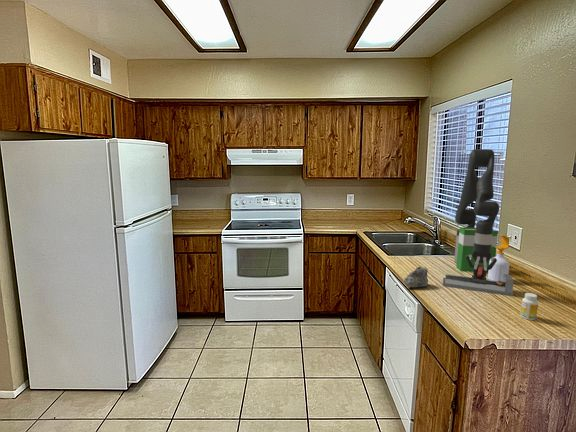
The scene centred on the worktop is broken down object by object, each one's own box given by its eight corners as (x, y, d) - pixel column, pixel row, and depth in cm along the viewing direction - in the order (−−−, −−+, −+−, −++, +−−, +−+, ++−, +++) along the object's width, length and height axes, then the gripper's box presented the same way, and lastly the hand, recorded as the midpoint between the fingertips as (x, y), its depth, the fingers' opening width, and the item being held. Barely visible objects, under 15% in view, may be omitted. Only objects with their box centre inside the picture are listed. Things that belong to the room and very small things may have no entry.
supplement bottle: (518, 317, 139) (521, 294, 138) (521, 313, 143) (524, 291, 142) (535, 321, 136) (538, 298, 134) (537, 317, 140) (540, 294, 138)
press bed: (443, 280, 182) (444, 266, 181) (510, 289, 169) (511, 274, 168) (442, 285, 174) (443, 271, 173) (513, 296, 161) (514, 280, 160)
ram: (471, 281, 175) (473, 263, 173) (485, 283, 172) (487, 265, 171) (472, 285, 170) (473, 266, 168) (486, 287, 167) (488, 268, 166)
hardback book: (488, 268, 202) (492, 228, 199) (493, 272, 195) (498, 230, 191) (456, 267, 205) (459, 227, 201) (460, 271, 197) (464, 229, 194)
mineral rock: (405, 289, 169) (406, 269, 167) (399, 281, 179) (400, 263, 178) (432, 290, 168) (433, 270, 166) (425, 282, 179) (426, 263, 177)
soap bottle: (483, 278, 186) (488, 233, 182) (496, 276, 189) (500, 232, 185) (499, 283, 177) (504, 236, 174) (511, 281, 181) (517, 235, 177)
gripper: (498, 242, 168) (494, 276, 171) (466, 239, 174) (463, 272, 177) (500, 245, 161) (496, 281, 164) (466, 242, 167) (463, 276, 170)
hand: (479, 276), depth 170 cm, fingers closed on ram, 3 cm apart
